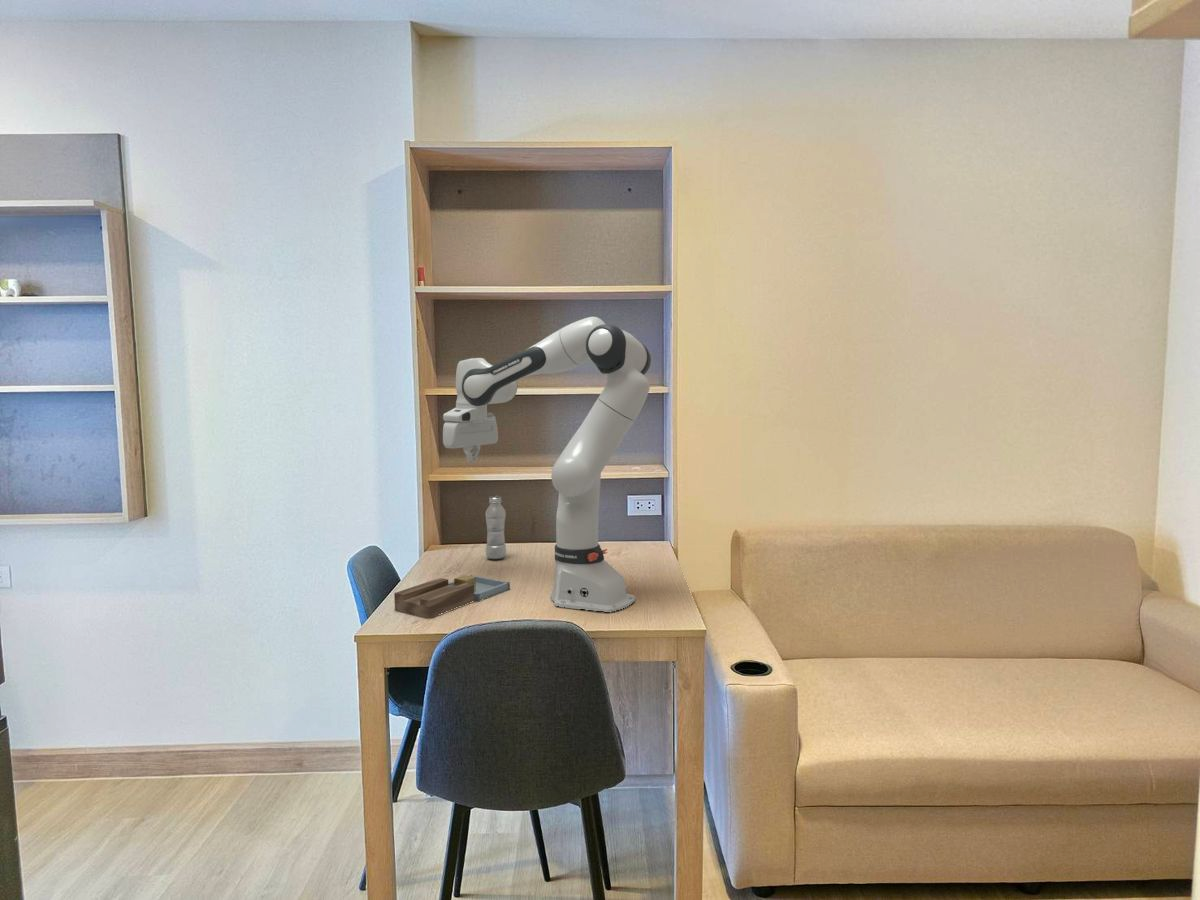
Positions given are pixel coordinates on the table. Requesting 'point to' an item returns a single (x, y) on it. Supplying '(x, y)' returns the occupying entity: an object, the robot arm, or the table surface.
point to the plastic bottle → (495, 529)
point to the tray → (487, 587)
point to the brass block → (465, 581)
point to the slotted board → (433, 598)
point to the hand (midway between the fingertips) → (471, 461)
